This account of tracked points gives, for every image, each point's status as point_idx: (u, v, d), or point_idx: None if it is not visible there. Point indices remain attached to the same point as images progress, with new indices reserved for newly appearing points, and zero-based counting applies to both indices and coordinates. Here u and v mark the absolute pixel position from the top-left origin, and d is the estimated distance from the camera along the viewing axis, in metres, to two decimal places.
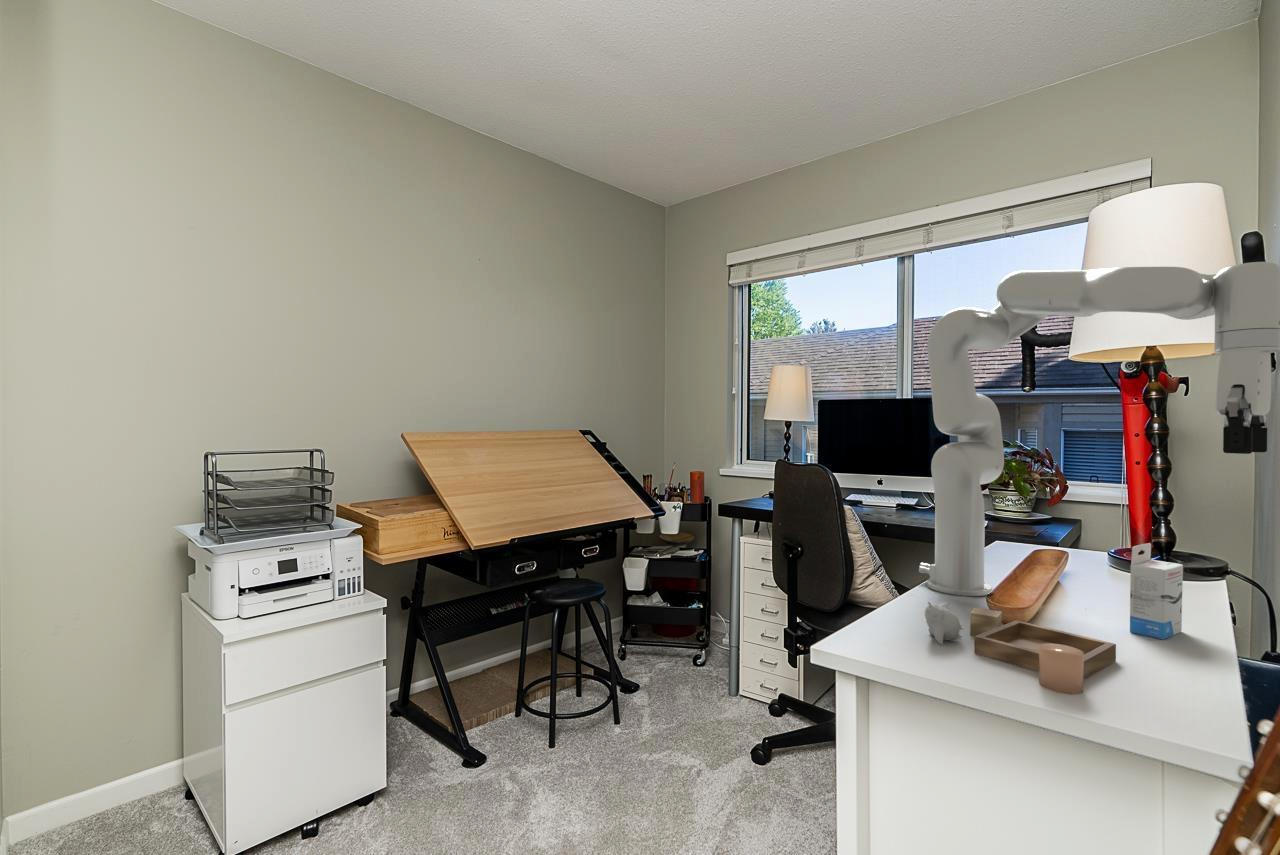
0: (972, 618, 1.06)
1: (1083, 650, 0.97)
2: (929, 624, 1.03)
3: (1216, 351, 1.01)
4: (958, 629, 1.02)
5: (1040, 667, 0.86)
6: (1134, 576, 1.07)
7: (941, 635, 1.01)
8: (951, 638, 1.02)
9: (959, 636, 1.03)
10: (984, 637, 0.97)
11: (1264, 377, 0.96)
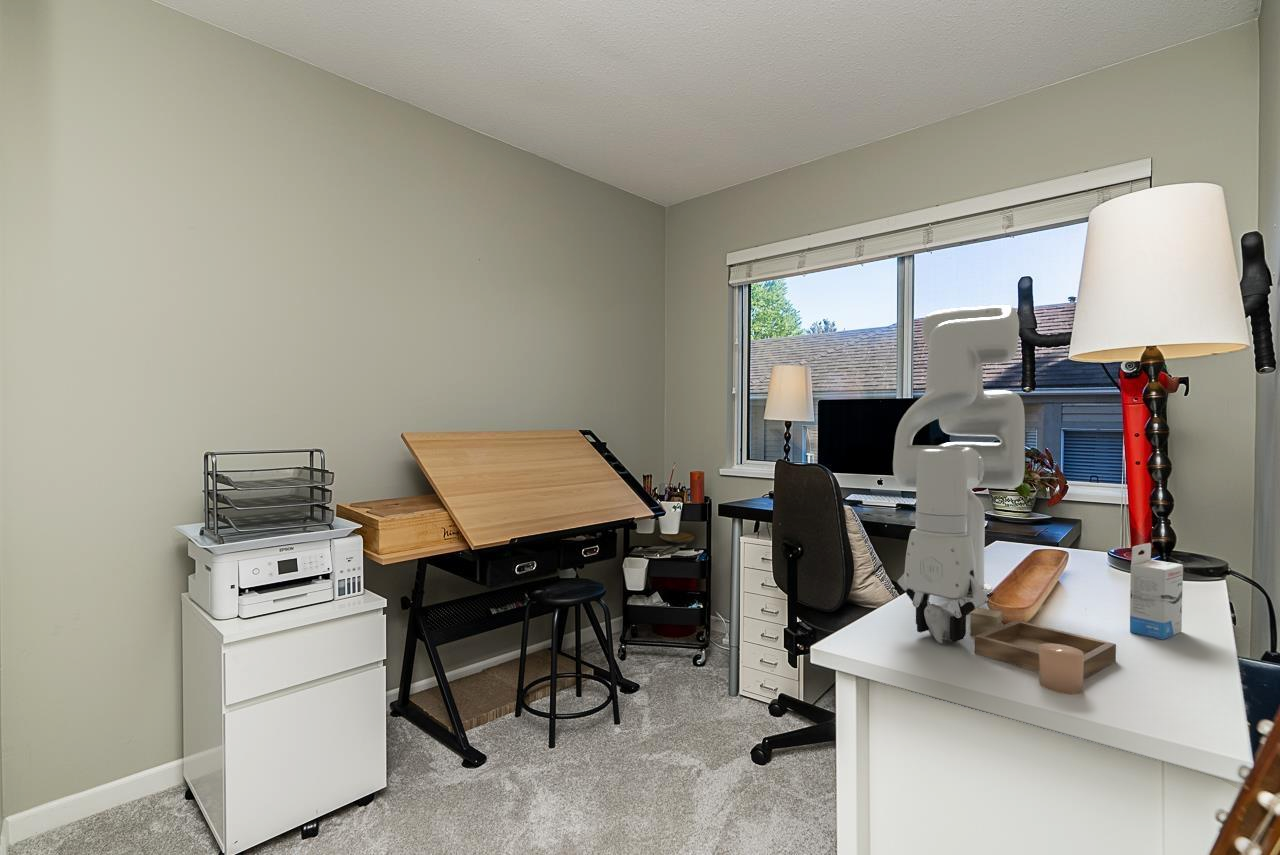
0: (972, 618, 1.06)
1: (1083, 650, 0.97)
2: (928, 623, 1.03)
3: (942, 534, 1.00)
4: None
5: (1040, 667, 0.86)
6: (1134, 576, 1.07)
7: (940, 634, 1.01)
8: None
9: None
10: (984, 637, 0.97)
11: None
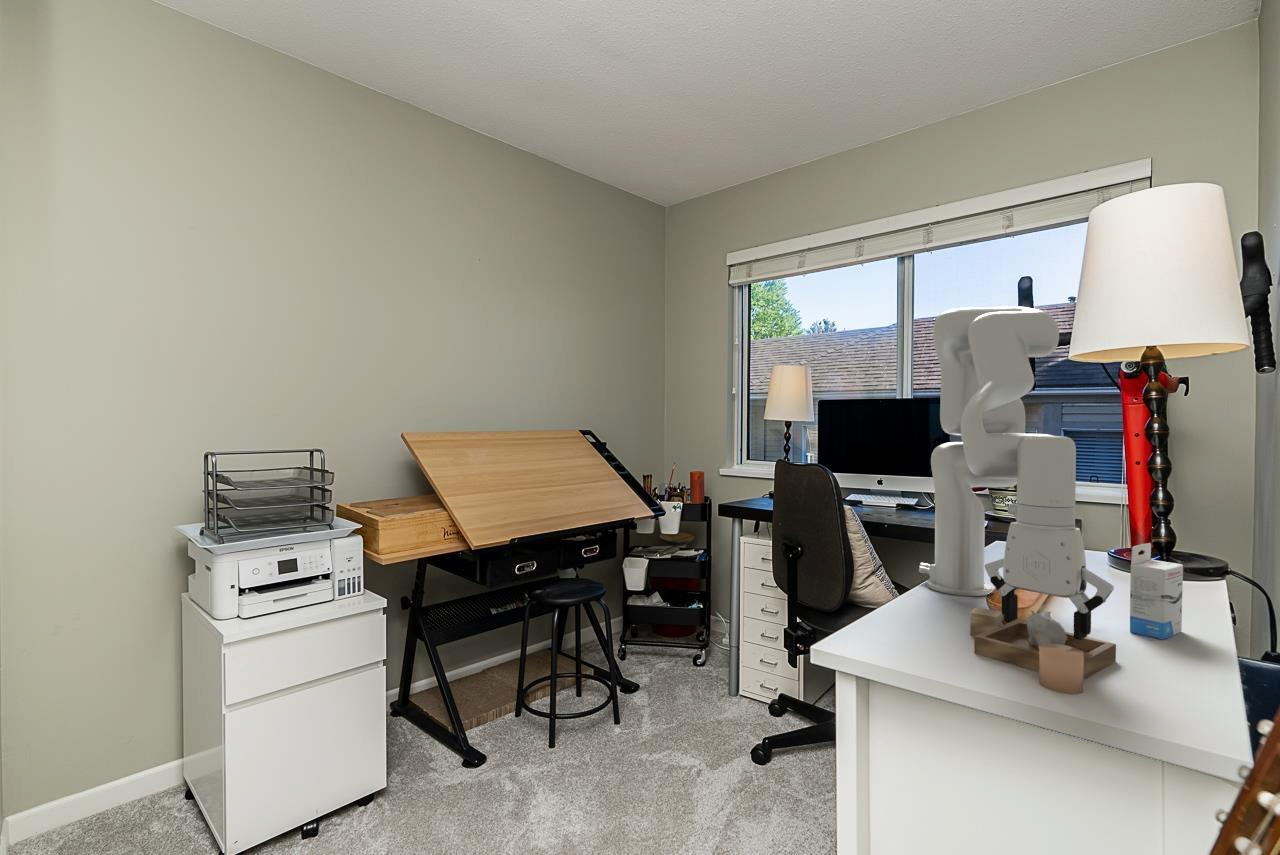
0: (972, 618, 1.06)
1: (1083, 650, 0.97)
2: (1032, 634, 0.96)
3: (1050, 527, 0.93)
4: (1064, 640, 0.95)
5: (1040, 667, 0.86)
6: (1134, 576, 1.07)
7: None
8: None
9: None
10: (984, 637, 0.97)
11: None
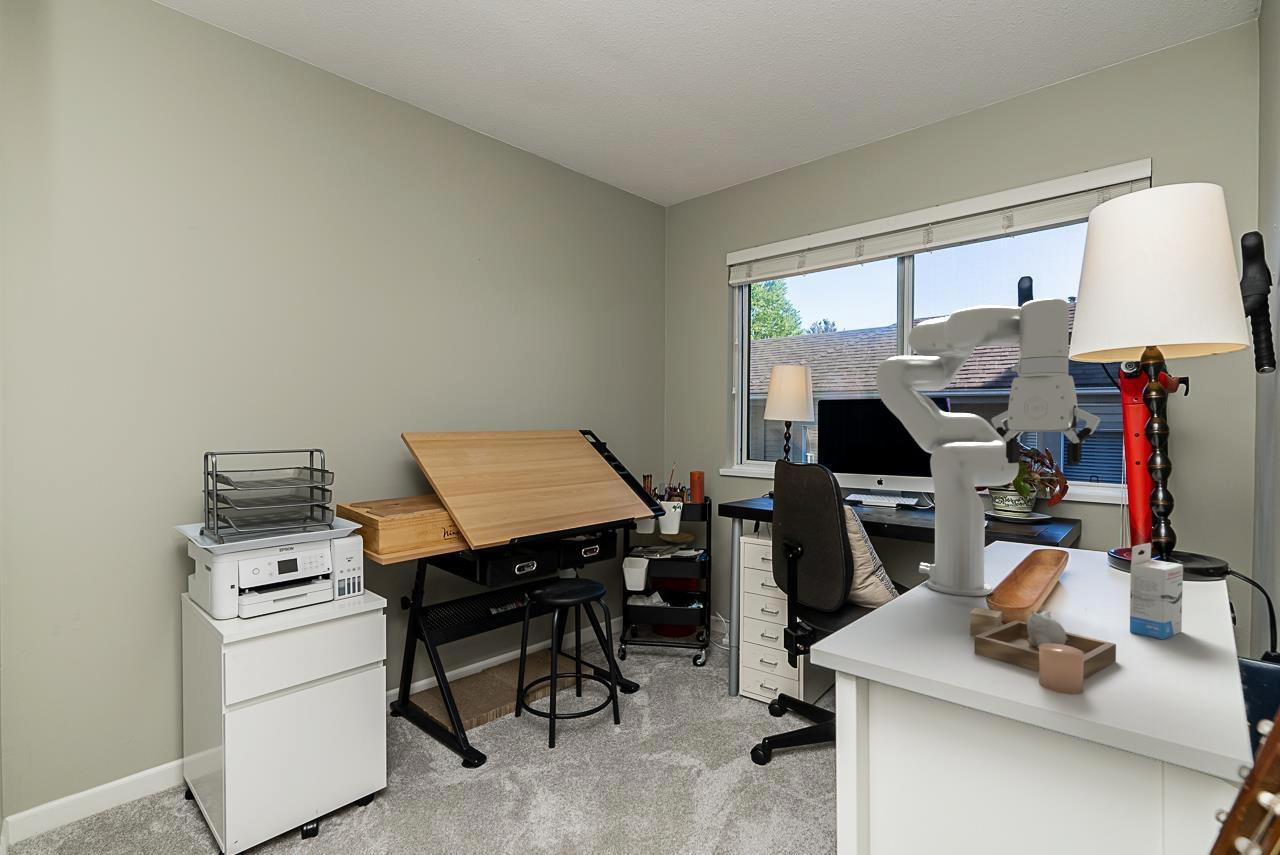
0: (972, 618, 1.06)
1: (1083, 650, 0.97)
2: (1032, 634, 0.96)
3: (1047, 373, 1.10)
4: (1064, 640, 0.95)
5: (1040, 667, 0.86)
6: (1134, 576, 1.07)
7: None
8: None
9: None
10: (984, 637, 0.97)
11: None
